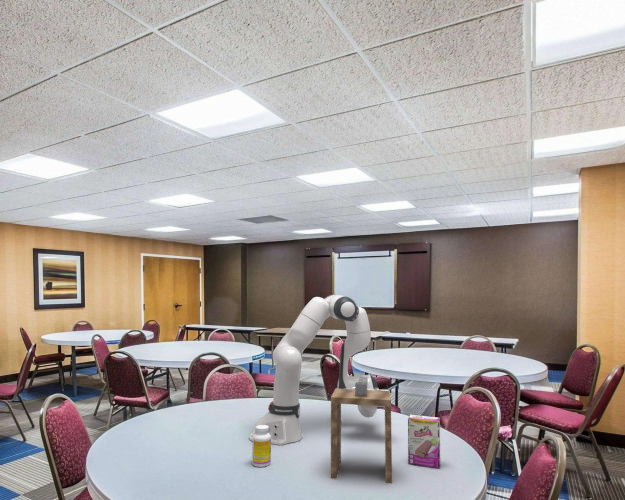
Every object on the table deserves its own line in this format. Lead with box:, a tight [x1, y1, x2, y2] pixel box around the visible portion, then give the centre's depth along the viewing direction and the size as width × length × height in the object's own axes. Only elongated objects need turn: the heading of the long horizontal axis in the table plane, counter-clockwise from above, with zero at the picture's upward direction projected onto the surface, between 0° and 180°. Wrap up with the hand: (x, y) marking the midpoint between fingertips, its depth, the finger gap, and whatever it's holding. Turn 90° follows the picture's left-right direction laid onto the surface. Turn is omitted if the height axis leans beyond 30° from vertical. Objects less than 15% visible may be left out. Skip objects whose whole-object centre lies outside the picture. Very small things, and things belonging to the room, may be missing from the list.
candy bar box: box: [407, 414, 441, 469], centre depth 149 cm, size 11×5×16 cm, turn 71°
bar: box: [355, 377, 368, 397], centre depth 150 cm, size 4×20×4 cm, turn 170°
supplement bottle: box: [251, 425, 272, 468], centre depth 147 cm, size 7×7×13 cm
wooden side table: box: [330, 387, 393, 484], centre depth 142 cm, size 20×14×26 cm
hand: (365, 389), depth 168 cm, fingers open, 8 cm apart
